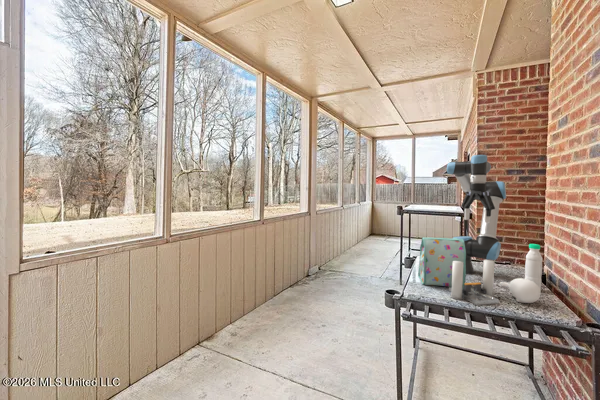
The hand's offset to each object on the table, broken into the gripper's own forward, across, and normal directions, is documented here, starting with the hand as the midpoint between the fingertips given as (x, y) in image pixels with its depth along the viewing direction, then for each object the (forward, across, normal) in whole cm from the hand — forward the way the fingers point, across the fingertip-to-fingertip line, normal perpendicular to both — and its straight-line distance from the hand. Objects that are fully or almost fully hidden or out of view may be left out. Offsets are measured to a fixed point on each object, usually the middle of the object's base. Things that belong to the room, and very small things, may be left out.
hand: (476, 221), depth 152 cm
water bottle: (+37, +9, +29) cm, 48 cm away
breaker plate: (+37, +14, -14) cm, 42 cm away
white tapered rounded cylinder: (+37, +14, -23) cm, 46 cm away
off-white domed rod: (+37, +14, -5) cm, 40 cm away
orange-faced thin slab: (+35, +14, -14) cm, 40 cm away
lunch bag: (+37, -6, -16) cm, 41 cm away
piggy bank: (+37, +21, +8) cm, 43 cm away
